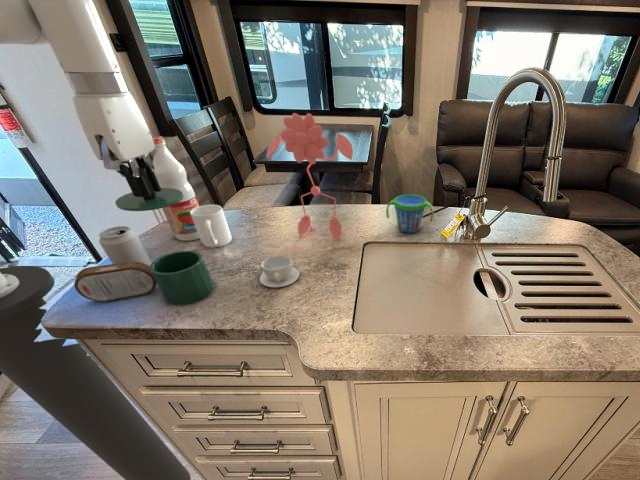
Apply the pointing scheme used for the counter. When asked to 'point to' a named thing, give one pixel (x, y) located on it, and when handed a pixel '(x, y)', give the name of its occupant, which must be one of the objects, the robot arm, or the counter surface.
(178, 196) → the tin lid
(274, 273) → the teacup
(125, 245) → the can
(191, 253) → the cup
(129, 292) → the tin
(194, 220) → the cup
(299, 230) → the figurine
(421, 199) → the snack cup
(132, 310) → the counter surface
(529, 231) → the counter surface
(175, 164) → the fruit juice
